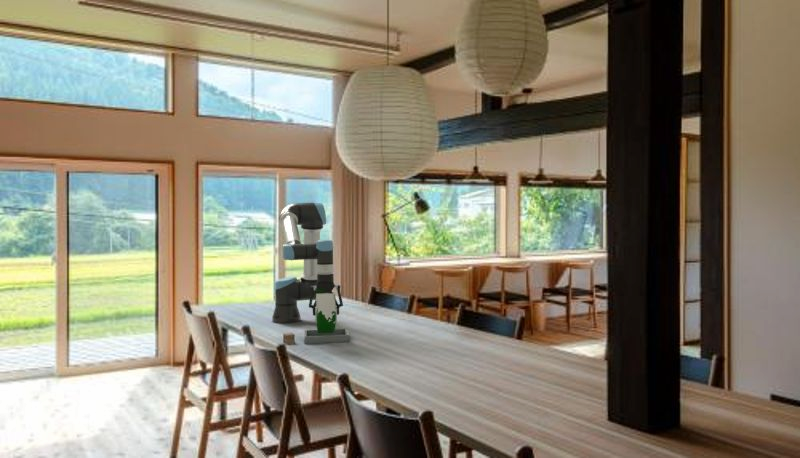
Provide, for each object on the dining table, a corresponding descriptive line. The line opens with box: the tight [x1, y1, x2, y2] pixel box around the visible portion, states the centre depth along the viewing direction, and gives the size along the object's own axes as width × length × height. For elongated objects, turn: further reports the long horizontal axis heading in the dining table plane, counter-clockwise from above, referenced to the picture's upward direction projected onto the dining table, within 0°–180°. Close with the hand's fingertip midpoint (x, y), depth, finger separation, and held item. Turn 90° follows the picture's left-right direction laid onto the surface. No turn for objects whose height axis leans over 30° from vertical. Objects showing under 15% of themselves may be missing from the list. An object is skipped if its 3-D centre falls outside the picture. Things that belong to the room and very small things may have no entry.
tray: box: [303, 328, 350, 345], centre depth 283 cm, size 16×20×3 cm
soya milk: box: [316, 289, 337, 333], centre depth 283 cm, size 9×9×20 cm
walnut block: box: [282, 332, 296, 345], centre depth 277 cm, size 4×4×4 cm
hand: (326, 322), depth 283 cm, fingers closed on soya milk, 8 cm apart
